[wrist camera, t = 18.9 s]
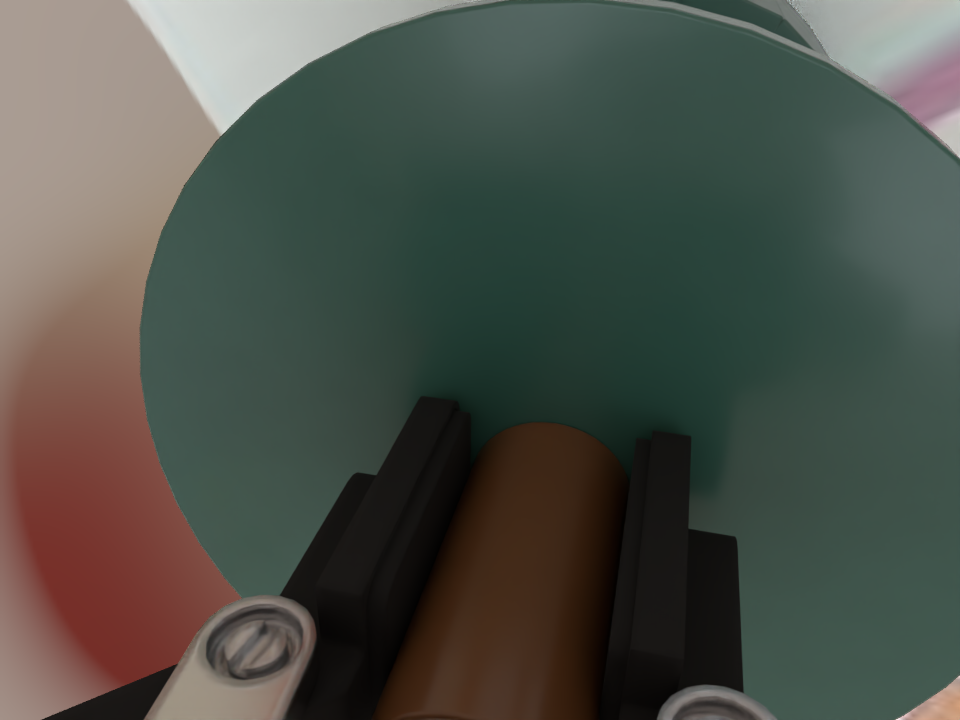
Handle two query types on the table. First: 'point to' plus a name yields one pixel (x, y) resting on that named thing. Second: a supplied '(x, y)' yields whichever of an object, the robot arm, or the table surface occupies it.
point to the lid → (582, 341)
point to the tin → (763, 17)
